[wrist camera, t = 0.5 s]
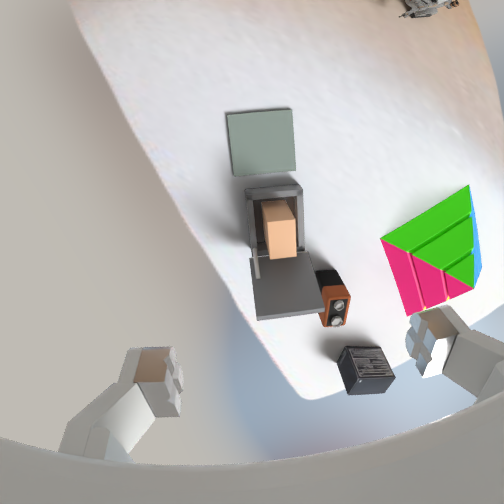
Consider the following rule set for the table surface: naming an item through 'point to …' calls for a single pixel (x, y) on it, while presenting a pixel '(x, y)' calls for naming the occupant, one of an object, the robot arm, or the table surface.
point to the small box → (365, 370)
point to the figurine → (427, 7)
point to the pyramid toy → (436, 253)
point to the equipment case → (282, 265)
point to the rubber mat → (262, 142)
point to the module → (279, 229)
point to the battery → (333, 298)
